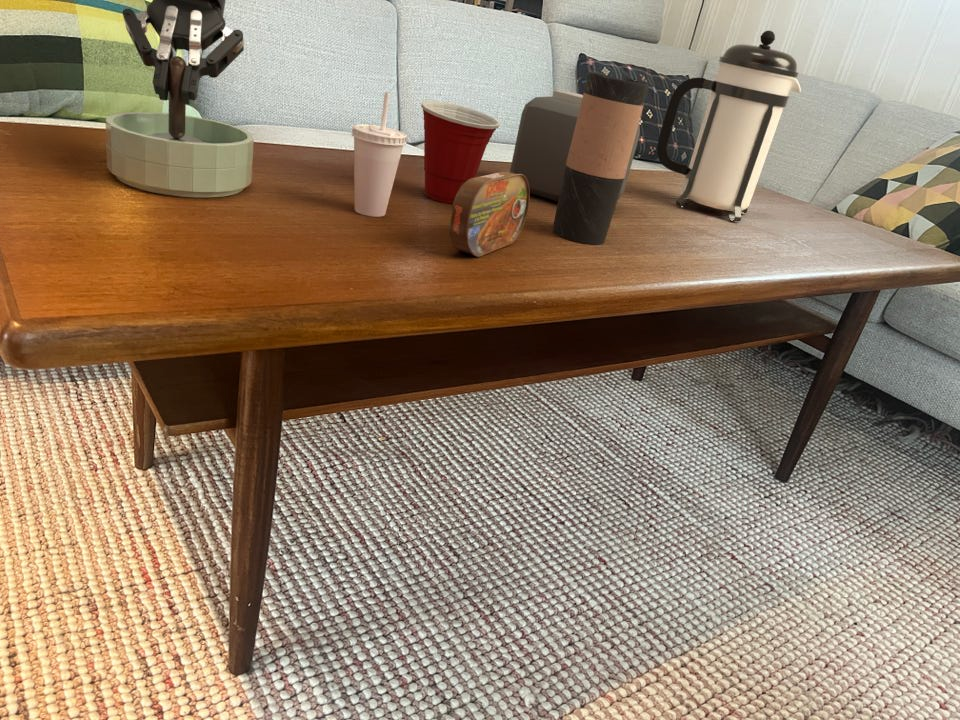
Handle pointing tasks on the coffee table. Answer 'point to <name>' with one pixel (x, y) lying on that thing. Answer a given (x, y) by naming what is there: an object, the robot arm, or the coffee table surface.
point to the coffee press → (733, 125)
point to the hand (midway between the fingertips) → (174, 97)
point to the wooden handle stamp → (176, 104)
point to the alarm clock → (550, 142)
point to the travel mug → (598, 157)
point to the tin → (489, 212)
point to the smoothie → (375, 164)
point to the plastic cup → (453, 146)
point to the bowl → (179, 155)
